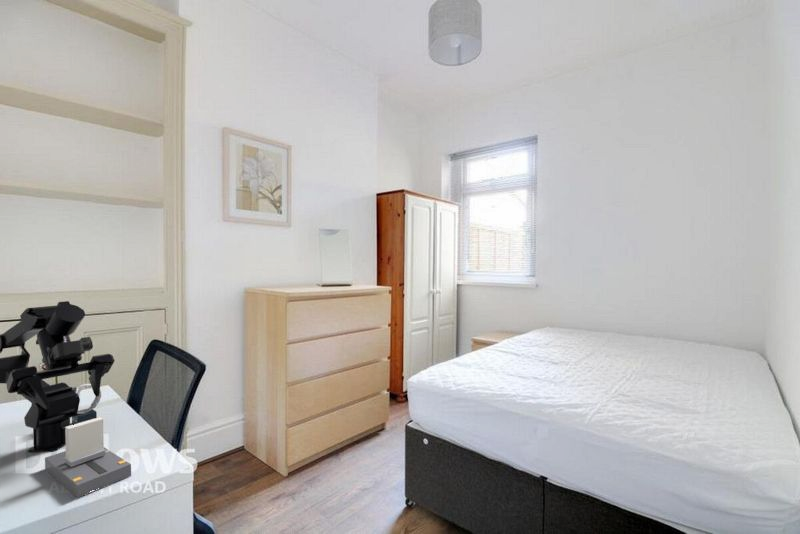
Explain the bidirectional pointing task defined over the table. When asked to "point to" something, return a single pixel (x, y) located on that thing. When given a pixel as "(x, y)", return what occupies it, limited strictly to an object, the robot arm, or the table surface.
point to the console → (88, 472)
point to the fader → (84, 441)
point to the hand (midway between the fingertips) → (73, 401)
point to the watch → (86, 413)
